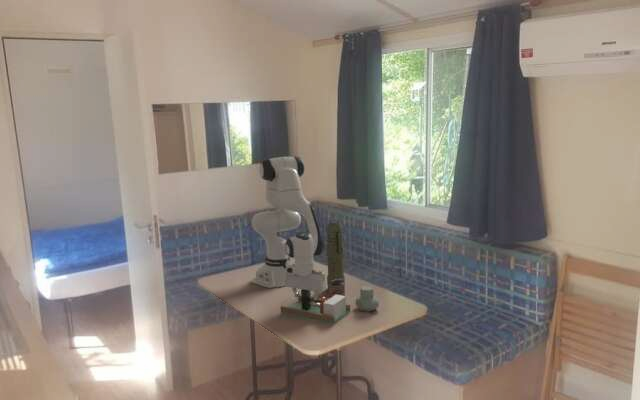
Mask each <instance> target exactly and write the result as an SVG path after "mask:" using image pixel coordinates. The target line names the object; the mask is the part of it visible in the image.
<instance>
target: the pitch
mask: <svg viewBox="0 0 640 400" xmlns="http://www.w3.org/2000/svg"><path fill="white" fill-rule="evenodd" d="M312 299H313V298H312V297H311V296H310V300H311V302H314V303H320V304H321V303H322V302H321V300H320V299H321V298H318V297H317V300H316V301H315V300H312ZM323 305H324V314H321V313H320V307H316V306H311V308H310V309H308V310H304V309H302V303H301V294H299V297H297V301H296V302H295V303H293V304H291V305H290V306H284V305H282V306H280V315H283V316H288V317H293V318H297V319H301V320H307V321H311V322H312V321H313V322H315V323H316V322H317V323H322V324H328V325H332V326H335V325H336V324H337V323H338V322H340V321H341V320H342V319H343V318H344V317H346V316H347V315H349V313H351V303H347V296H346V295H345V296H342V295H334V296H333V297H331V298H330V299H329V298H328V299H326V302H324V303H323Z"/></svg>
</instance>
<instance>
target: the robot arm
mask: <svg viewBox="0 0 640 400" xmlns="http://www.w3.org/2000/svg"><path fill="white" fill-rule="evenodd" d="M258 171H259V174H260V178H261V179H263V180H264V181H265V184H266V185H265V200H266V202H267V204H269V205H270V206H273V207H275V208H277V209H276V210H269V211H261V212H258V213H255V214H254V215H253V217H252V219H251V225H252V229H253V230H254V231H255V232H256V233H257V234H259V235H260V236H261V237H262V238H263V239H264V241H265V244H266V250H267V256H266V257H265V258H264V259H263V261H264V264H263V265H262V266H260V267H259V268H258V269H256V271H255V277H253V278H252V279H251V282H250V283H251V284H253V285H257V286H261V287H264V288H269V289H271V288H272V289H273V288H279V287H280V288H281V287H287V288H291V290H292V292H293V294H294V297H295V298H298V297H299V295H300V292H298V290H297V289H300V290H302V289H303V290H309V291H310V292H313V294H314V295H312V298H313V299H312V300H315V301H316V300H317V298H318V295H319V293H323V292H325V291H326V290H327V281H326V274H325V273H324V272H323V271H319V270H315V260H314V257H315V256H316V257H317V256H320V255H321V254H323V252H324V251H325V250H326V244H325V239H324V237H323V235H322V233H321V230H320V228H319V224H318V221H317V217H316V215H315V210H314V209H313V206H312V203H311V201H310V200H307V199H306V198H305V196H304V194H303V190H302V184H301V180H300V177H302V176H303V175H304V174H305V173H304V172H305V163H304V160H303V159H302V158H301V157H300V156H281V157H279V156H278V157H273V158H265V159H262V160H261V161H260V163H259V169H258ZM301 216H303V217H304V219H305V221H306V225H307V227H308V231H309V232H304V231H301V232H298V233H296V234H295V235H294V236H292V237H289V238H288V239H285V238H284V237H280V236H278V235H277V233H278V232H285V231H286V232H287V231H291V230H295V229H298V228H299V227H300V225H301V223H302V217H301ZM290 259H294V263H293V264H291V260H290Z"/></svg>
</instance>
